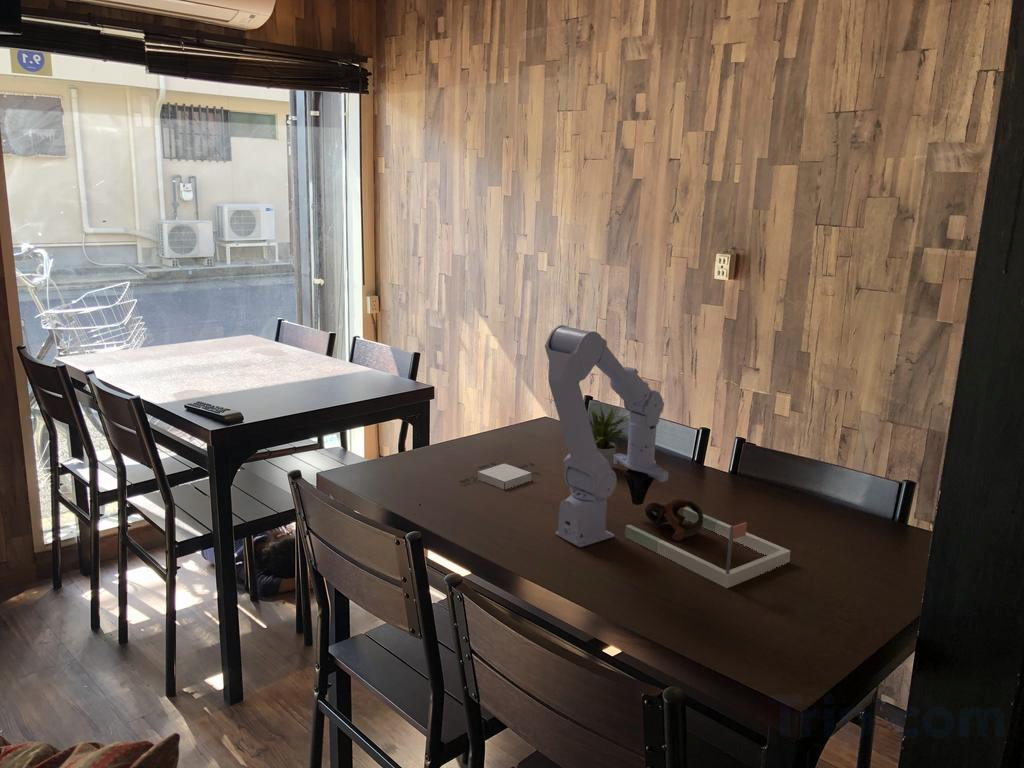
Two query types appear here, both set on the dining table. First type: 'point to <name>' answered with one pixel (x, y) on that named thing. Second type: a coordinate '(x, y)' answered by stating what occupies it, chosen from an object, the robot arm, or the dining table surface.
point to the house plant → (606, 434)
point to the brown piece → (675, 517)
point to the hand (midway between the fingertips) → (637, 503)
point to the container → (503, 475)
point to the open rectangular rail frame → (737, 534)
